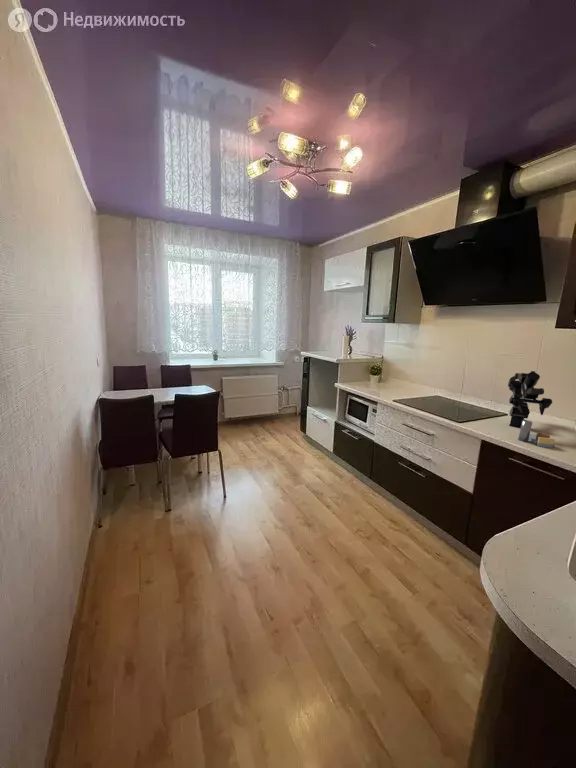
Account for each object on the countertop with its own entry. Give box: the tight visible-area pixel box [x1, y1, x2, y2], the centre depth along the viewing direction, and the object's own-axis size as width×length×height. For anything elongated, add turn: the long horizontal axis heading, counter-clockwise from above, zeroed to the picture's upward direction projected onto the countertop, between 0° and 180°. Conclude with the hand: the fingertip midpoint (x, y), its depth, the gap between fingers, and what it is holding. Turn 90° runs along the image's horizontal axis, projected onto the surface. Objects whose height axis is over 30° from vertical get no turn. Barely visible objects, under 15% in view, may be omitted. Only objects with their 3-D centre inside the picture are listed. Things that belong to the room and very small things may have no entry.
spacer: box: [518, 419, 533, 443], centre depth 170 cm, size 4×4×11 cm
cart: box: [528, 433, 556, 449], centre depth 170 cm, size 14×9×5 cm, turn 169°
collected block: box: [535, 431, 551, 441], centre depth 166 cm, size 4×4×4 cm
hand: (532, 413), depth 173 cm, fingers open, 9 cm apart
